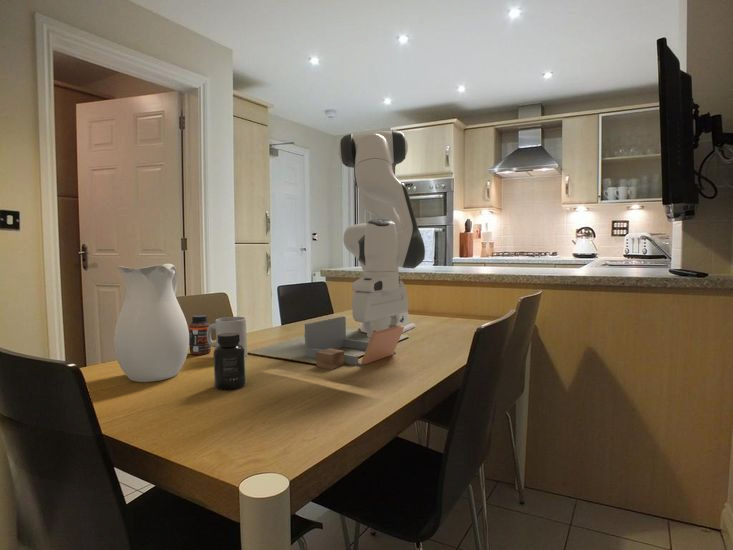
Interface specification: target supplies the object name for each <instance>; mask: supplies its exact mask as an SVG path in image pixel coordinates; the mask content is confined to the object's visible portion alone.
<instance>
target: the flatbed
mask: <svg viewBox="0 0 733 550" xmlns="http://www.w3.org/2000/svg"><path fill="white" fill-rule="evenodd" d="M346 320H347V319H346V316H343V315H342V316H338V317H333V318H328V319H324V320H323V319H322V320H319V321H313V322H309V323H304V349H305V351H304V352H305V353H304V355H305V357H310V358H315V359H316V352H318V351H322V350H325V349H329V348H331V349H336V350H338V349H340V348H342V347H345V348H350V349H351V348H352V349H358V350H363V351H366V349H367V346H368V344H369V341H365V340H360V339H358V340H357V339H353V338H352V339H351V338H347V332H346V331H347V327H346V325H347V323H346V322H347V321H346ZM396 354H397V352H396V350H395V351H394V354H393V355H396ZM344 364H347V365H350V366H358V367H362V366H364V364H363V363H361V362H359V355H354V354H350V353H349V354H348V353H344Z"/></svg>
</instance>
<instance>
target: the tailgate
mask: <svg viewBox="0 0 733 550" xmlns="http://www.w3.org/2000/svg"><path fill="white" fill-rule="evenodd" d="M403 329H404V326H403V325H399V326H395V327H391V328H388V329H384V330H380V331H376V332H373V333H372V336H371V338H369V341H368V342H369V344H368V346H367V349H366V350H364V354H363V357H362V360H361V362H360V363H362V364H363V365H367V364H369V363H373V362H375V361H379V360H381V359H383V358H384V359H385V358H387V357H390V356H393V355H395V354H394V351H395V352H396V349H397V346H398V343H399V341H400V338H401V336H402V334H403V333H402V331H403Z"/></svg>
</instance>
